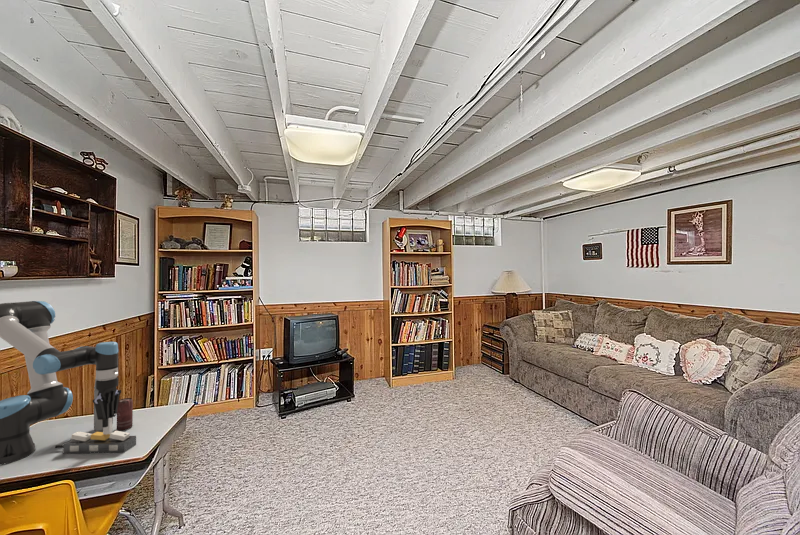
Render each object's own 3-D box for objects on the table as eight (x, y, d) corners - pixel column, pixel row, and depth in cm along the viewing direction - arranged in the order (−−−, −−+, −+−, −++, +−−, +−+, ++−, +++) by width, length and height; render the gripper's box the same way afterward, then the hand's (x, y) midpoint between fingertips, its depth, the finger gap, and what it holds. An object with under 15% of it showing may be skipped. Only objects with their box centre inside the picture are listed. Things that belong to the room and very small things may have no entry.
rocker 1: (70, 438, 151) (71, 434, 151) (77, 435, 155) (78, 431, 155) (85, 441, 151) (86, 437, 152) (91, 438, 155) (92, 433, 155)
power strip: (48, 454, 149) (48, 444, 149) (63, 446, 156) (63, 436, 156) (124, 452, 150) (124, 443, 150) (136, 444, 157) (136, 435, 157)
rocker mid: (90, 439, 152) (90, 434, 152) (96, 435, 155) (96, 431, 155) (104, 440, 152) (105, 436, 152) (110, 436, 155) (111, 432, 155)
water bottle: (97, 433, 169) (97, 380, 169) (90, 429, 173) (91, 377, 173) (120, 426, 177) (120, 375, 177) (113, 422, 181) (114, 373, 181)
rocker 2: (109, 438, 152) (110, 433, 152) (115, 434, 155) (116, 430, 155) (123, 440, 152) (124, 436, 152) (128, 437, 155) (129, 433, 155)
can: (124, 431, 170) (124, 402, 171) (113, 430, 172) (113, 401, 172) (136, 426, 176) (136, 397, 177) (125, 425, 178) (125, 397, 178)
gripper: (104, 382, 147) (104, 440, 147) (127, 373, 161) (127, 426, 160) (85, 383, 147) (85, 440, 147) (110, 374, 160) (110, 427, 160)
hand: (107, 433), depth 153 cm, fingers closed
